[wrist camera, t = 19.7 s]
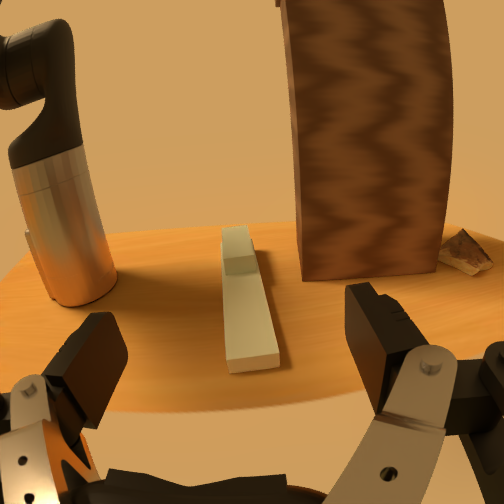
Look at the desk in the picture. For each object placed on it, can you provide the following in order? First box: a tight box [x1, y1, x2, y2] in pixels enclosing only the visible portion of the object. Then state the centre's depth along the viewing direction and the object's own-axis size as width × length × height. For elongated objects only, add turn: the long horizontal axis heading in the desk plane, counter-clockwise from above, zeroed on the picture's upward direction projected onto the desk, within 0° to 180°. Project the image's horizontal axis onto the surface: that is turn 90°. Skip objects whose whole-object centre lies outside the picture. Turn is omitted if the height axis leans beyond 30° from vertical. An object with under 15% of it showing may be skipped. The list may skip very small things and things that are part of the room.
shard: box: [438, 229, 493, 276], centre depth 34 cm, size 11×8×2 cm
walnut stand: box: [275, 0, 453, 281], centre depth 29 cm, size 17×11×32 cm, turn 86°
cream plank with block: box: [221, 225, 280, 374], centre depth 31 cm, size 4×20×4 cm, turn 6°
